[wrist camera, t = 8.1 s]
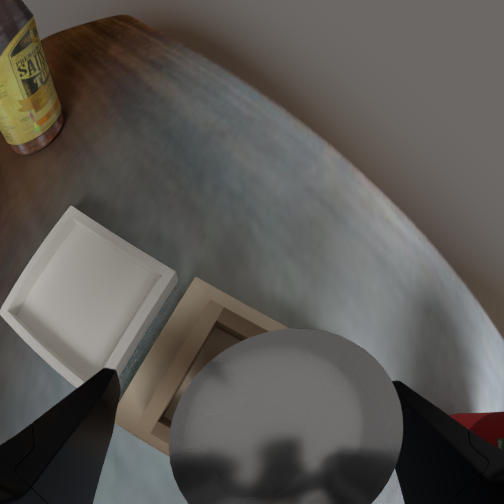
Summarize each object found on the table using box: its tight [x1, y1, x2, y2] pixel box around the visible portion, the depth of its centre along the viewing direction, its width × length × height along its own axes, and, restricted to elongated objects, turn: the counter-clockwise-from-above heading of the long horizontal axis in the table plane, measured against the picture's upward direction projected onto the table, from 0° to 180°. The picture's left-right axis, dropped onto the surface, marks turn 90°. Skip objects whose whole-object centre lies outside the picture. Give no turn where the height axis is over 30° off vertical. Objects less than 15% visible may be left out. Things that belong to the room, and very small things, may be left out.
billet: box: [169, 328, 403, 504], centre depth 10 cm, size 4×4×12 cm
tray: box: [0, 206, 179, 388], centre depth 17 cm, size 9×9×2 cm
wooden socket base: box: [115, 277, 291, 456], centre depth 15 cm, size 10×11×3 cm
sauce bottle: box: [0, 0, 63, 155], centre depth 13 cm, size 6×6×20 cm
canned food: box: [450, 412, 504, 450], centre depth 11 cm, size 8×8×11 cm
